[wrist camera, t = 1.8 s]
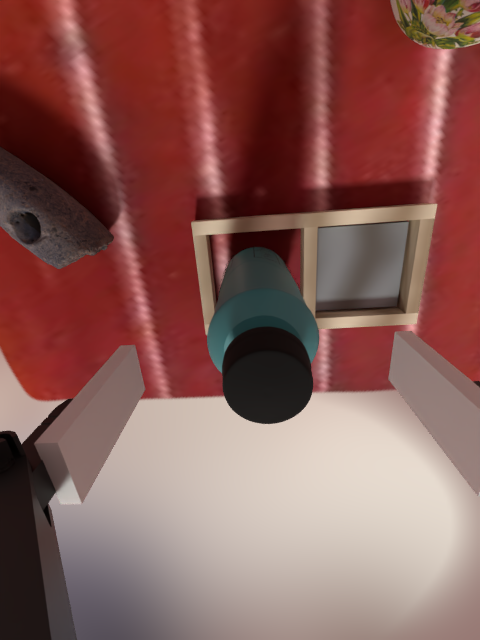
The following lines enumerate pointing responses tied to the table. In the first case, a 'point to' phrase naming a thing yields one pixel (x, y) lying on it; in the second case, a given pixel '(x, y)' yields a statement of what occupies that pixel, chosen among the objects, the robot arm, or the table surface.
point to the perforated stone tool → (46, 216)
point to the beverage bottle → (263, 338)
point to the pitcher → (439, 22)
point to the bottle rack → (342, 261)
